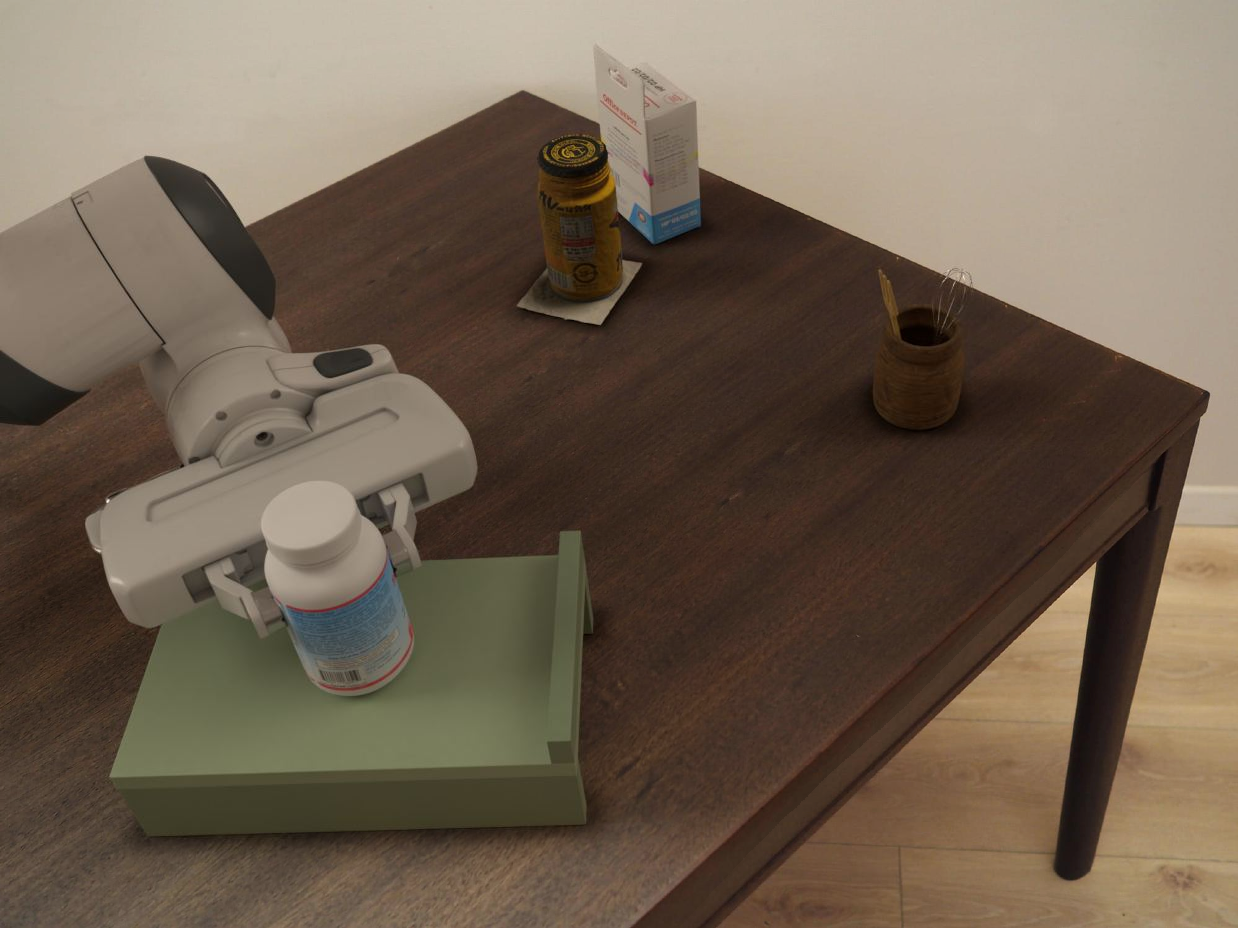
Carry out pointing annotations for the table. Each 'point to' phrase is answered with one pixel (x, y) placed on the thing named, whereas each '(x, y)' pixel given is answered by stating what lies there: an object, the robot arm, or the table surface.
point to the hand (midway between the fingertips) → (341, 594)
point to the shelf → (373, 715)
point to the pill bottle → (335, 589)
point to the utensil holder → (919, 362)
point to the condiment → (578, 233)
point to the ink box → (649, 147)
